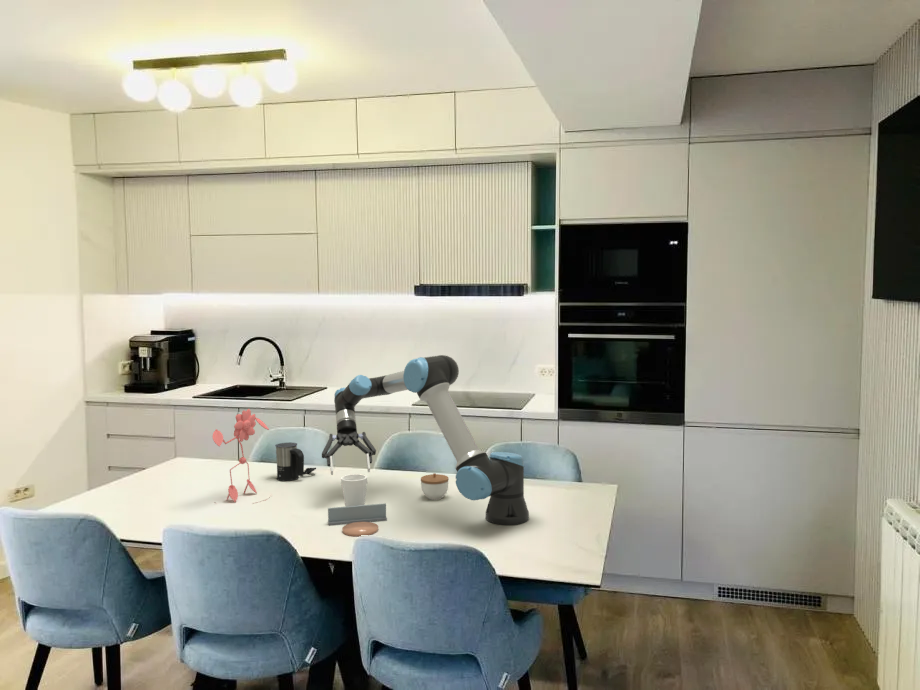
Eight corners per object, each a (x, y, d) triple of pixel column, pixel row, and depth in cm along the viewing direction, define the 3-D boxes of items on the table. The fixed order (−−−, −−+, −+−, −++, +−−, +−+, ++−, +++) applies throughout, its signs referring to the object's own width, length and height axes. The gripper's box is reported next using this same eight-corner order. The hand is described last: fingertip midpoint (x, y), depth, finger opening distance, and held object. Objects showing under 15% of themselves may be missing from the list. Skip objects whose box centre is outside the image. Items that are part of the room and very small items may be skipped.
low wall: (385, 516, 267) (384, 502, 267) (386, 520, 263) (386, 505, 263) (328, 521, 262) (327, 506, 262) (328, 525, 259) (328, 510, 258)
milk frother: (272, 480, 318) (270, 446, 317) (291, 471, 333) (290, 438, 332) (302, 483, 314) (301, 447, 312) (320, 473, 329) (319, 440, 327)
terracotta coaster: (385, 529, 254) (385, 526, 254) (360, 538, 245) (360, 535, 245) (360, 522, 261) (360, 519, 261) (334, 531, 252) (334, 528, 252)
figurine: (208, 505, 284) (206, 413, 280) (256, 488, 307) (255, 403, 303) (239, 511, 277) (237, 417, 273) (286, 493, 300) (284, 406, 296)
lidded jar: (415, 499, 288) (415, 475, 287) (429, 492, 297) (429, 468, 297) (440, 503, 283) (439, 478, 282) (453, 495, 292) (453, 471, 292)
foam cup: (355, 507, 279) (355, 472, 278) (373, 511, 273) (372, 476, 272) (336, 513, 272) (335, 478, 271) (354, 518, 266) (353, 482, 265)
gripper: (377, 427, 298) (383, 474, 285) (313, 431, 292) (316, 479, 279) (379, 416, 292) (384, 464, 279) (313, 420, 287) (316, 468, 274)
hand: (350, 471), depth 279 cm, fingers open, 13 cm apart
